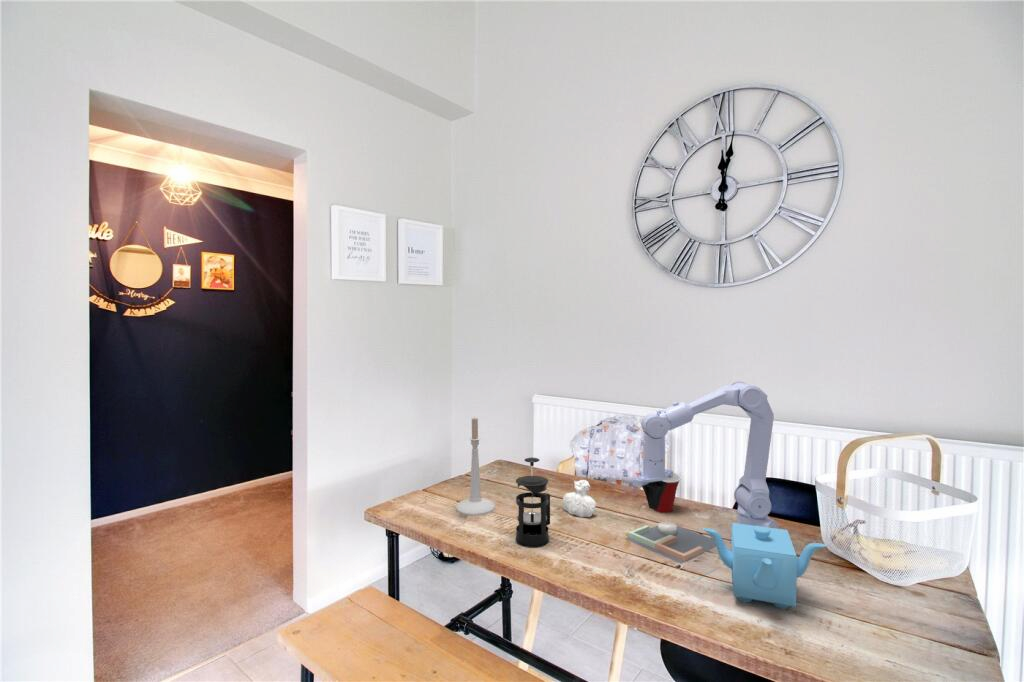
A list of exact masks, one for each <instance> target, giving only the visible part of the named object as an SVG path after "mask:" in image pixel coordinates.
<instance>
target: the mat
mask: <svg viewBox="0 0 1024 682" xmlns="http://www.w3.org/2000/svg"><path fill="white" fill-rule="evenodd" d="M641 536H643V537H645V538H648V539H650V540H652V541H656V540H658V539H661V538H663V537H665V536H668V535H663V534H661V533H659V532H658V525H655V526H652V527H650V531H648V532H646V533H643V534H641ZM673 536H675V537H676V542H675V543H673V544H671V545H668V546H667V547H669V548H671V549H674V550H676V551H678V552H681V553H686V552H688V551H690V550H692V549H694V548H696V547H698V546H701V547H703V553H705V552H708V551H710V550H711V549H714V548H717V547H716V543H715V541H714V539H713V538H712V537H709V536H706V535H703V534H701V533H698V532H695V531H693V530H689V529H687V528H684V527H681V526H679V525H677V533H676V534H675V535H673ZM624 539H625V540H627V541H628V542H631V543H633V544H635V545H637V546H640V547H641V548H645V549H647V550H650V551H652V552H653V553H656V554H657V555H658V554H659V556H660V555H661V556H662V557H664V558H666V559H669V560H672V561H674V562H676V563H679V564H683V563H685V562H684V561H682V560H680V559H677V558H675V557H673V556H670V555H668V554H666V553H663V552H661V551H659V550H657V549H654V548H652V547H650V546H647V545H645V544H643V543H640V542H638V541H636V540H634V539H631V538H629V537H628V536H627V537H625V538H624ZM703 553H701V554H703ZM701 554H699V555H698V556H700V555H701Z"/></svg>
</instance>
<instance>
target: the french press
mask: <svg viewBox="0 0 1024 682" xmlns="http://www.w3.org/2000/svg"><path fill="white" fill-rule="evenodd" d="M524 462H526V463H530V464H529V465H530V467H531V468H530V470H531V471H530V473H531V475H524V476H520V477H517V478H516V479H515V483H516V484H517V488H519V487H520V486H521V487H522V486H523V487H524V488H526V489H527V490H528V492H523V493H519V494H518V495H516V497H515V503H516V505H517V506H518V515H517V518H516V519H517V522H518V525H516V528H515V530H516V531H515V543H516V544H517V545H519V546H521V547H524V548H531V549H532V548H533V549H534V548H540V547H543V546H546V545H547V544H549V542H550V537H549V525H550V524H551V494H550V493H547V492H545V491H547V487H548V486H547V484H548V483H549V479H548V478H547V477H545V476H541V475H534V474H533V473H534V470H533V468H534V464H535V463H537V462H540V459H539V458H538V457H527V458H524ZM525 498H531V503H529V502H525ZM534 498H538V499H539V498H540V502H536V503H534V501H533V499H534ZM525 509H531V511H526V512H525ZM534 509H540V512H538V511H534Z"/></svg>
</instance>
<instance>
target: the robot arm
mask: <svg viewBox="0 0 1024 682" xmlns="http://www.w3.org/2000/svg"><path fill="white" fill-rule="evenodd" d="M722 405H726V406H732V407H739V408H741V409H742V411H744V412H745V413H746V415H748V417H749V418H750V425H749V433H748V439H747V447H746V449H747V450H746V455H745V464H744V471H743V476H741V477H740V478H739V480H738V481H739V482H738V485H737V487H736V488H735V489H734V491H733V498H734V501H735V502H736V503H737V505H738V506H737V512H736V513H737V516H736V517H737V518H736V523H737V524H745V525H753V526H761V527H768V528H776V529H779V526H778V525H779V524H778V522H777V521H776V520H775V519H773V518H770V517H769V514H770V513H771V511H772V503H771V500H770V489H769V487H768V484H767V481H766V479H767V471H768V465H769V464H768V463H769V457H770V456H769V455H770V450H771V442H772V433H773V426H774V424H773V423H774V416H775V415H774V412H773V409H772V408H771V405H770V403H769V399H768V395H767V393H765V392H764V391H763V390H762V389H761V388H760V387H758V386H756V385H751V384H748V383H746V382H744V381H735V382H732V383H730V384H725V385H723V386H722V387H720V388H718V389H716V390H714V391H712V392H710V393H708V394H705V395H704V396H702V397H699V398H698V399H696V400H693V401H692V402H689V403H686V402H684V401H680V402H678V401H674V402H672V405H671V406H669V407H666V408H663V409H662V410H661V409H657V410H656V413H653V412H651V413H647V414H646V415H645V416H644V417H642V421H641V422H640V425H641V429H642V430H643V442H642V444H643V445H642V471H639V474H640V475H638V476H637V477H635V478H633V487H636V488H638V489H641V488H642V490H643V492H644V494H645V497H646V501H647V504H648V508H649V509H652V510H654V511H655V510H656V509H658V507H659V503H660V500H661V496H662V494H663V492H664V490H665V488H666V487H667V483H666V482H663V480H665V479H666V478H673V472H674V471H673V470H672V469H668V468H666V436H667V434H668V432H669V431H672V430H674V429H677V428H679V427H681V426H683V425H686V424H688V423H691V422H692V421H693V419H694V417H695V415H698V414H700V413H701V414H702V413H703V412H707V411H709V410H712V409H714V408H717V407H720V406H722ZM730 544H731V545H732V541H730Z"/></svg>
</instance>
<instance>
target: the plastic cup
mask: <svg viewBox="0 0 1024 682" xmlns="http://www.w3.org/2000/svg"><path fill="white" fill-rule="evenodd" d="M681 480H682V476H681V475H679V474H678V473H676V472H674V471H673V478H666V479H665V480H663V482H666V483H667V487H666V488H665V490H664V492H663V494H662V496H661V500H660V503H659V507H658V509H656V510H654V511H655V512H658V513H666V514H667V513H671V512H672V511H673V509H674V503H675V498H676V495H677V491H678V486H679V483H680V482H681Z"/></svg>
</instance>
